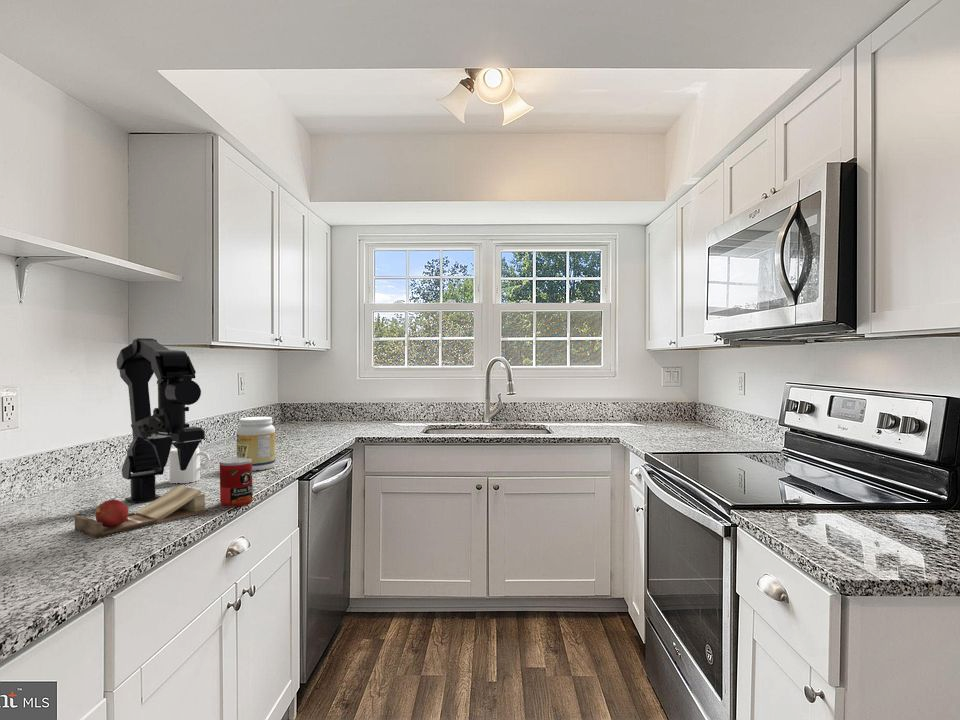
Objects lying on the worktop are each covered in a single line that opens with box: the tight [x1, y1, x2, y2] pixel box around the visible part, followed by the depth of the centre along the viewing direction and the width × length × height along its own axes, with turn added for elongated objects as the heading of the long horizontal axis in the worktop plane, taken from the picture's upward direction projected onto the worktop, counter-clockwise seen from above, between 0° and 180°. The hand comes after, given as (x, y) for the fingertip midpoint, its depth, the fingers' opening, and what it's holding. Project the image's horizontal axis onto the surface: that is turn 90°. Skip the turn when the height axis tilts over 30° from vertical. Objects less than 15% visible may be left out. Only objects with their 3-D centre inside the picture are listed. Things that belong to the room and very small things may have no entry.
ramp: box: [135, 484, 206, 520], centre depth 136 cm, size 10×11×6 cm
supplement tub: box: [236, 416, 276, 472], centre depth 192 cm, size 12×12×17 cm
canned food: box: [219, 457, 254, 508], centre depth 146 cm, size 8×8×11 cm
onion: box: [94, 499, 129, 528], centre depth 123 cm, size 6×6×8 cm
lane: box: [74, 508, 205, 539], centre depth 130 cm, size 11×23×3 cm, turn 146°
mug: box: [169, 446, 211, 485], centre depth 172 cm, size 8×12×10 cm
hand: (172, 468), depth 136 cm, fingers open, 9 cm apart
